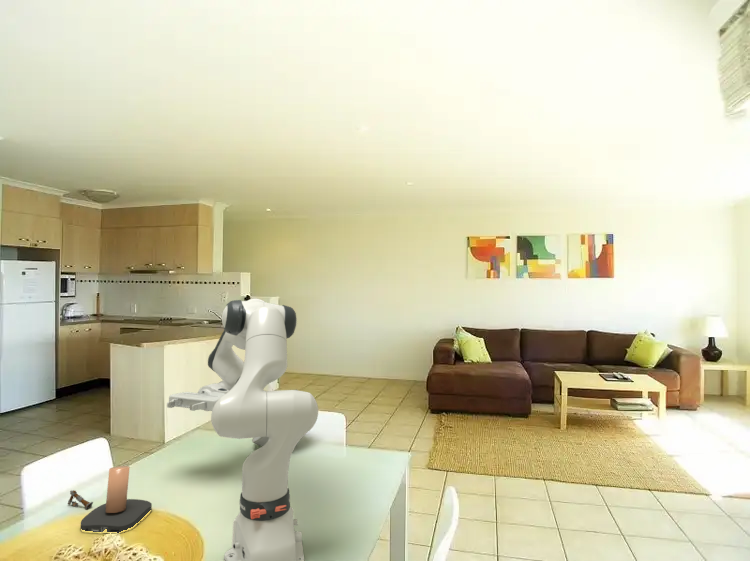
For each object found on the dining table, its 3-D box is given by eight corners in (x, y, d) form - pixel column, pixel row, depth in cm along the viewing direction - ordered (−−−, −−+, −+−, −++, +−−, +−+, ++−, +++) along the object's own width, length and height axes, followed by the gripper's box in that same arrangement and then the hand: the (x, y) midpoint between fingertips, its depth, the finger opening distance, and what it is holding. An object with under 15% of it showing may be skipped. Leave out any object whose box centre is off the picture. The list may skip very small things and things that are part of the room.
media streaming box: (156, 508, 130) (157, 498, 130) (128, 536, 116) (128, 524, 116) (108, 507, 131) (108, 497, 131) (73, 535, 116) (73, 523, 116)
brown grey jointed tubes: (69, 500, 132) (74, 487, 132) (88, 514, 130) (93, 501, 130) (63, 503, 131) (68, 489, 130) (82, 517, 129) (88, 504, 128)
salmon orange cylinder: (120, 512, 120) (124, 470, 122) (101, 513, 120) (105, 470, 122) (129, 506, 125) (132, 465, 127) (110, 507, 125) (114, 466, 127)
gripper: (186, 386, 160) (155, 394, 147) (233, 390, 152) (204, 399, 139) (186, 403, 159) (155, 413, 146) (233, 409, 152) (204, 419, 139)
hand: (179, 406), depth 143 cm, fingers open, 8 cm apart
